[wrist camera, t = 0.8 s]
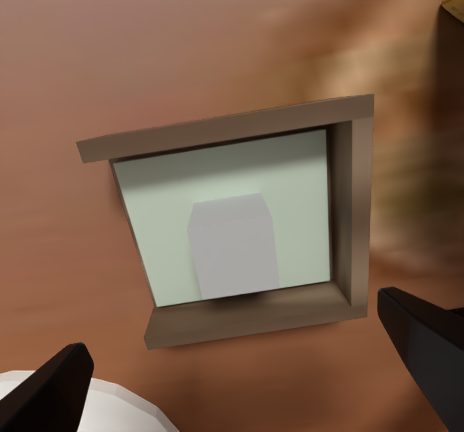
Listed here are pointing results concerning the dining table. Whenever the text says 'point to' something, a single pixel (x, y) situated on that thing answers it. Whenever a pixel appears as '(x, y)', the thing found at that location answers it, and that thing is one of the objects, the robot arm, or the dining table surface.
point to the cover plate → (229, 176)
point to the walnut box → (339, 218)
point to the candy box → (455, 8)
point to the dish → (106, 407)
